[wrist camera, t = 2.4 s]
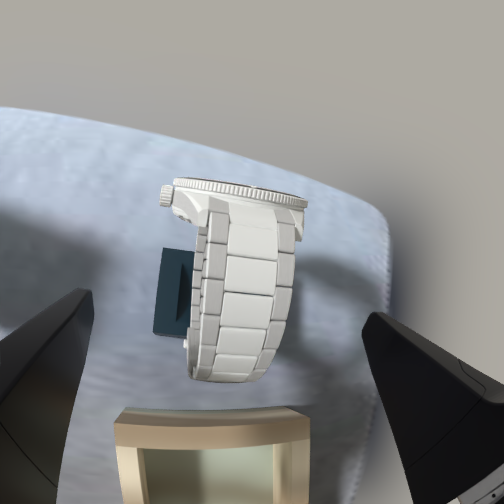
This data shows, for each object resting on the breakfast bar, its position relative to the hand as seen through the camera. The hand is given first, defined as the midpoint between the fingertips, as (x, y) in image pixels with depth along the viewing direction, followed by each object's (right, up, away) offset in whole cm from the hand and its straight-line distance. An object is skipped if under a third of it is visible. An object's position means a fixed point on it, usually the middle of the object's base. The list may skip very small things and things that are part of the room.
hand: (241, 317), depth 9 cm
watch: (-3, -1, +9) cm, 10 cm away
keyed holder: (-2, -13, +5) cm, 14 cm away
